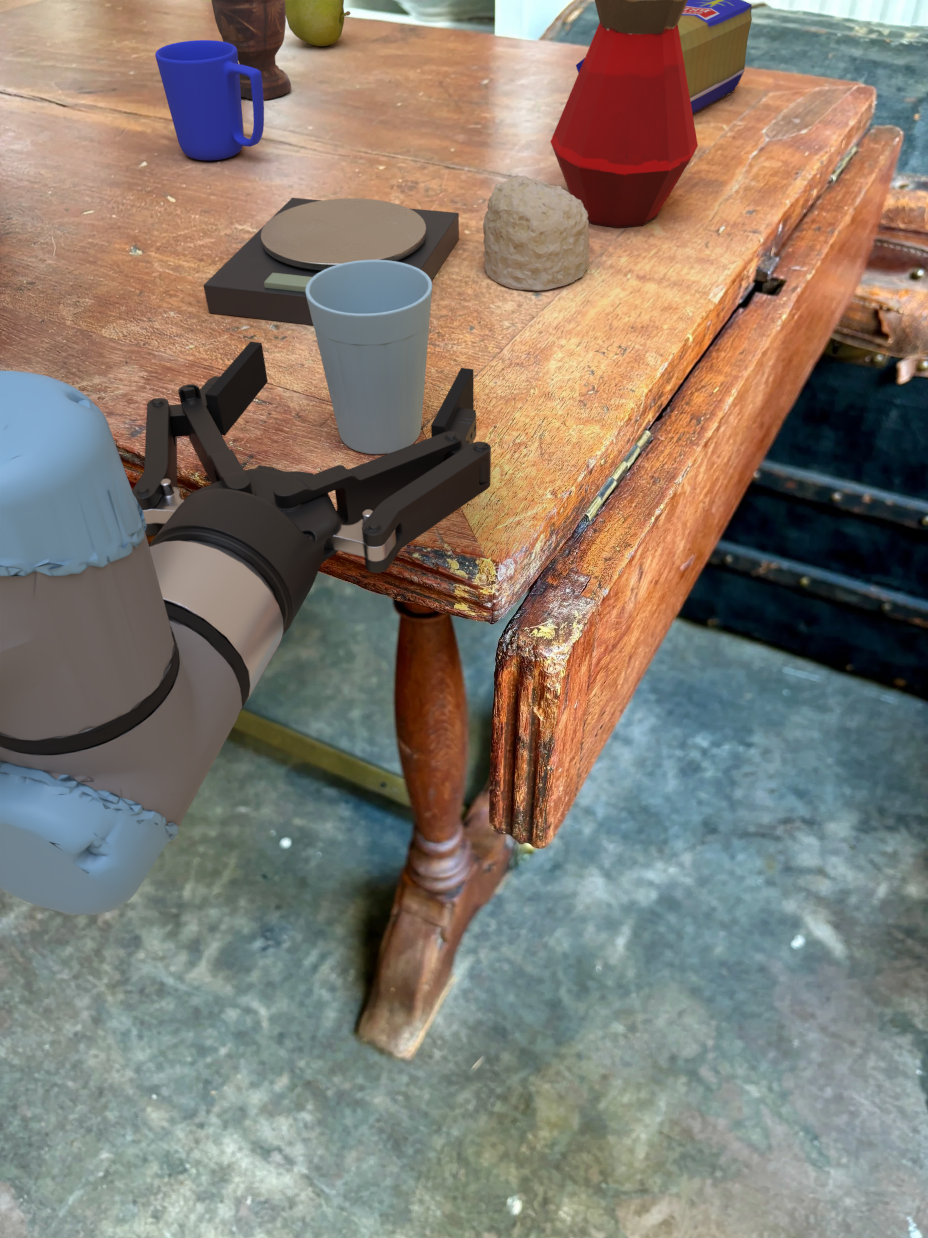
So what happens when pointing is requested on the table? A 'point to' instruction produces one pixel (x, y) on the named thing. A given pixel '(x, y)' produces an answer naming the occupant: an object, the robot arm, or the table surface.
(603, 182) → the red faceted vase
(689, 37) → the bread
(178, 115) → the mug
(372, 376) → the cup
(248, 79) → the mortar and pestle
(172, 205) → the table surface
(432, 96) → the table surface
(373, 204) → the scale platform
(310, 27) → the apple
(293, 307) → the scale
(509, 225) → the rock
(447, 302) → the table surface
